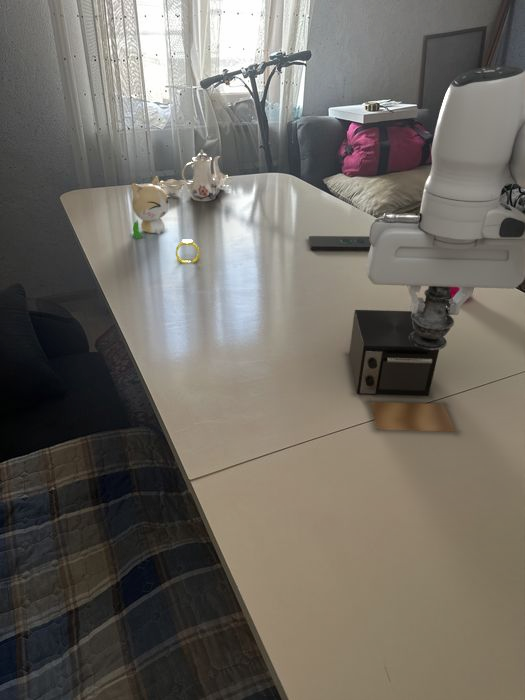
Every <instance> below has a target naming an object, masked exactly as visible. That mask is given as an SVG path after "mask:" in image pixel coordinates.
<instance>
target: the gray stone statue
mask: <svg viewBox="0 0 525 700" xmlns="http://www.w3.org/2000/svg"><path fill="white" fill-rule="evenodd" d="M450 288H451V287H441V286H427V289H425V290H424V296H425V298H424V301H425V303H426V304H425V308H424V313H423V314H413V313H412V314H411V319H412V324H413V328H414V330H415V331H414V332H412V333H411V334H410V335H409V340H410V342H411V343H412V344H413V345H415V346H417V347H419V348H422V349H426V350H439V351H440V350H442V349H445V347H446V346H447V345H448V344H447V343H448V342H447V339H446V338H445V336H446V335H447V334H448V333H449V331H450V330H451V328H452V327H453V326H454V325H455V320H454V318H453V317H452V315H447V314H446V308H447V304H448V300H449V299H451V297H452V295H451V294H450Z"/></svg>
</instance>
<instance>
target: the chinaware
mask: <svg viewBox="0 0 525 700" xmlns="http://www.w3.org/2000/svg"><path fill="white" fill-rule="evenodd" d="M212 158H213V157H211V156H208V154H206V153H205V152H204V150H203V149H201V150H200V151H199V153H198V154H197V155H196V156H193V157H192V160H193V162H188V163H186V164H185V165H184V166H183V167H182V170H181V177H182V179H179V180H176V179H174V178H170V179H167V180H159V184H160V188H162V189H163V190H164V192H165V193H166V195H167V196H168V197H169V198H170V199H177V197H178V196H180V194H181V193H182V191H183V187H184V186H185V182H186V186H187V191H188V193H189V194H190V196H191V199H192V200H194V201H197V202H209V201H214V200H216V198H217V196H218V195H219V193H220V189H222V190H224V189H225V187H230V186H231V185H232V179H231V178H230V177H228V176H229V175H228V174H224V173H223V172H221V169H220V167H219V164H218V163H219V161H218V160H219V158H220V156H219V155H216V156H215V157H214V158H213V173H212V169H211V167H212V166H211V163H212ZM188 166H190V167H191V169H194V172H193V177H192V180H191V181H190V180H188V179H186V177H185V172H186V171H185V170H186V169H187V168H188ZM227 179H229V181H230V183H229V184H228V185H226V181H227Z"/></svg>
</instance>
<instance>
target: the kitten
mask: <svg viewBox="0 0 525 700" xmlns="http://www.w3.org/2000/svg"><path fill="white" fill-rule="evenodd" d="M131 191H132V203H131V204H132V210H133V212H134V214H135V215H136V217H137V218H139V220H142V222H141V225H140V226H141V227H139V220H136V221H134V223H133V226H132V232H133V235H132V236H133V237H134V238H136V239H141V238H142V233H141V232H140V231H139V230H140V229H141V230H142V231H143V232H145V233H149V234H155V233H156V234H157V235H159V234H161V233H164V232H165V229H166V227H165V222H164V221H163V219H162V218H163V217H164V216H165V215H167V213H168V212H169V210H170V201H169V196H167V195H166V193H165V192H164V190H163V189H162V188H161V185H160V180H159V177H158V175H156V176H154V178H153V179H152V181H151V182H150V183H147V184H143V185H140V184H137V183H135V182H133V183H131ZM139 228H140V229H139Z"/></svg>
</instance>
